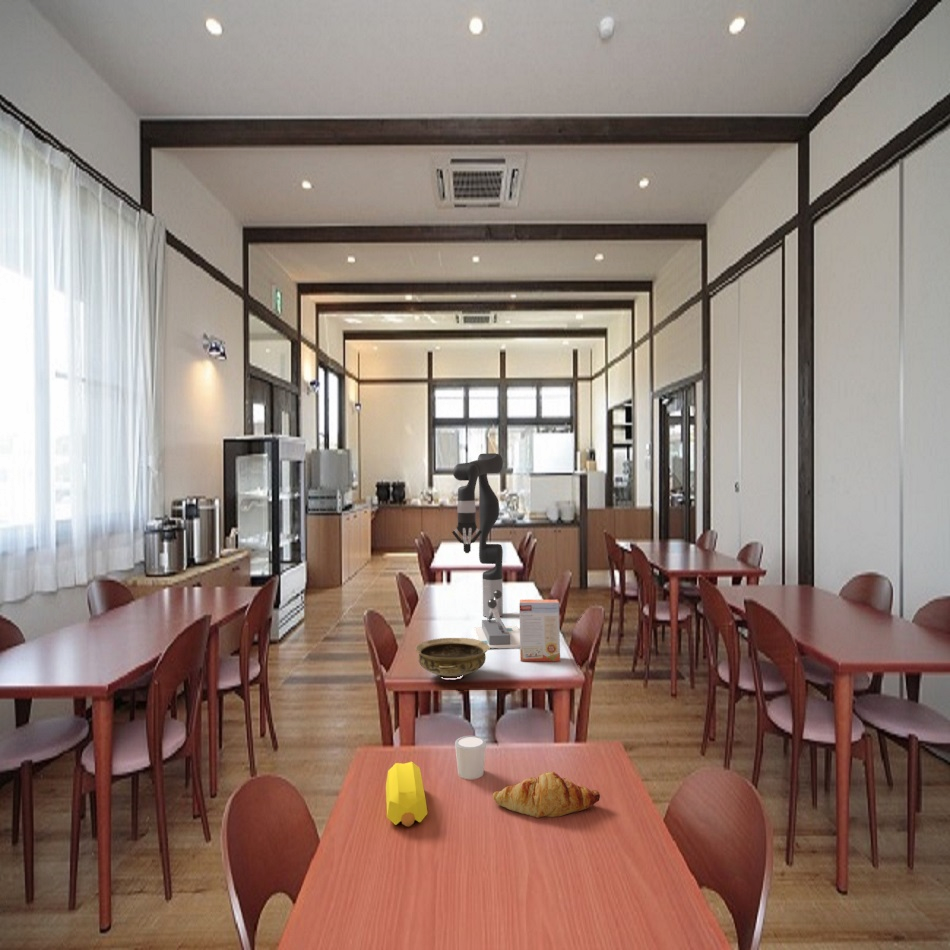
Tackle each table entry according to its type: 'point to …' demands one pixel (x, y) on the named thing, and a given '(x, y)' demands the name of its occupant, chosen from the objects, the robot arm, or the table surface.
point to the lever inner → (497, 595)
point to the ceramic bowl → (452, 656)
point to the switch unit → (498, 635)
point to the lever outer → (496, 614)
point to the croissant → (546, 796)
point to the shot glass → (470, 756)
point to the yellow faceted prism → (405, 794)
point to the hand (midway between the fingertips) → (467, 552)
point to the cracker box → (539, 630)
